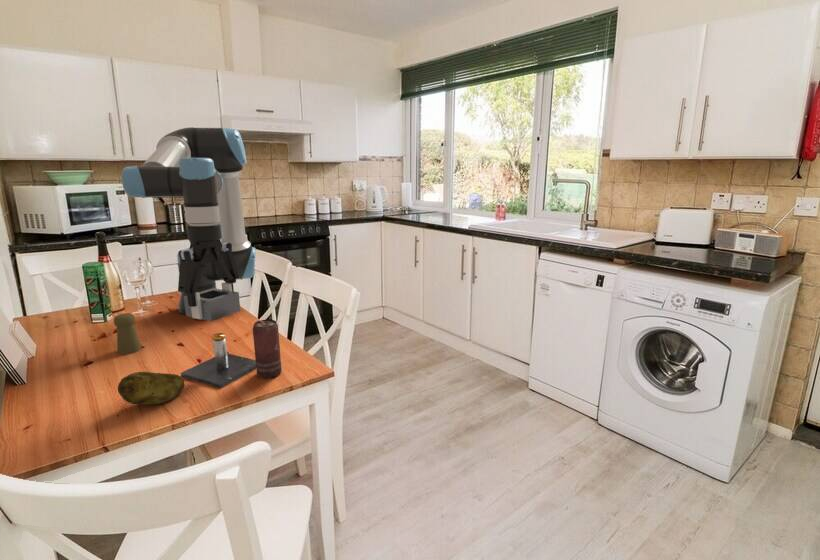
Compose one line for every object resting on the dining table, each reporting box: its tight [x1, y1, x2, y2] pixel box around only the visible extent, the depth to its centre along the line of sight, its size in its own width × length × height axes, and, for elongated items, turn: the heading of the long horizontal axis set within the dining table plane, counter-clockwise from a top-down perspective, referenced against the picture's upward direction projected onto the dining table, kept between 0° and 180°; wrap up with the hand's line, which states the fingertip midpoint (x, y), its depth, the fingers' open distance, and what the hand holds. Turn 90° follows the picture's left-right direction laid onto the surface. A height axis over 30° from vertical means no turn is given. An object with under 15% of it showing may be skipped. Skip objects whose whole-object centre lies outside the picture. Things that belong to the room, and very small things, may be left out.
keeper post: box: [180, 332, 256, 389], centre depth 115 cm, size 14×14×10 cm
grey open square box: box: [184, 288, 241, 322], centre depth 112 cm, size 9×9×5 cm
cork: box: [113, 312, 143, 355], centre depth 127 cm, size 6×6×11 cm
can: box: [252, 319, 282, 379], centre depth 113 cm, size 6×6×14 cm
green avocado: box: [117, 371, 185, 406], centre depth 100 cm, size 8×13×8 cm, turn 122°
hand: (213, 312), depth 112 cm, fingers closed on grey open square box, 9 cm apart
